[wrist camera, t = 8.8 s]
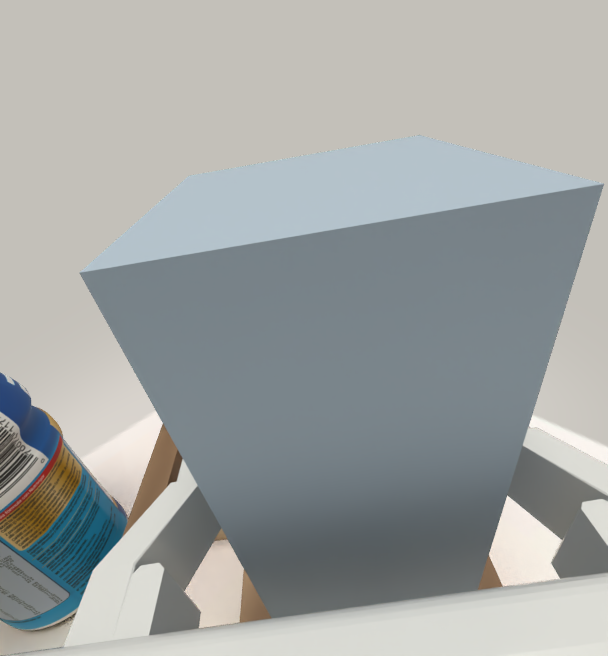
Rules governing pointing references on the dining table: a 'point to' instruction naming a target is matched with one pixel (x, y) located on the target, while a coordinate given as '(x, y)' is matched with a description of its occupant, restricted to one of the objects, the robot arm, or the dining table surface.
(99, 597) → the robot arm
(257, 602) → the brown flat e-shaped piece
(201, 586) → the dining table surface
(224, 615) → the dining table surface
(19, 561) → the beverage bottle
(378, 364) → the slate block
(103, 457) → the dining table surface
